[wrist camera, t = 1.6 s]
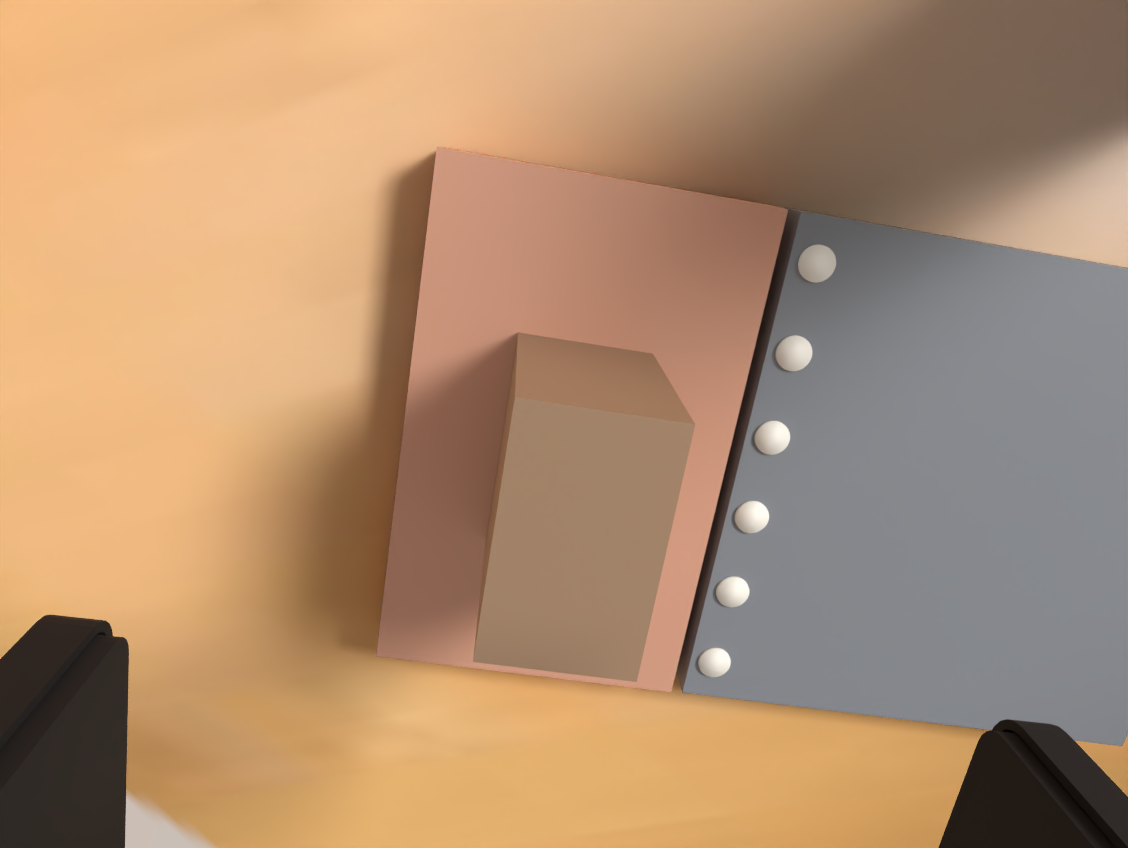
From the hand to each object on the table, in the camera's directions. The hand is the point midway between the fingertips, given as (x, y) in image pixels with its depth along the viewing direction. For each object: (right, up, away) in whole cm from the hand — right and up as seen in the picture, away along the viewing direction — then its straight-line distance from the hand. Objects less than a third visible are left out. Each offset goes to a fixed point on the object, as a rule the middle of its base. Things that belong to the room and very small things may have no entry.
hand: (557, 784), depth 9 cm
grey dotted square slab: (+10, +2, +12) cm, 16 cm away
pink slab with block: (0, +4, +11) cm, 12 cm away
